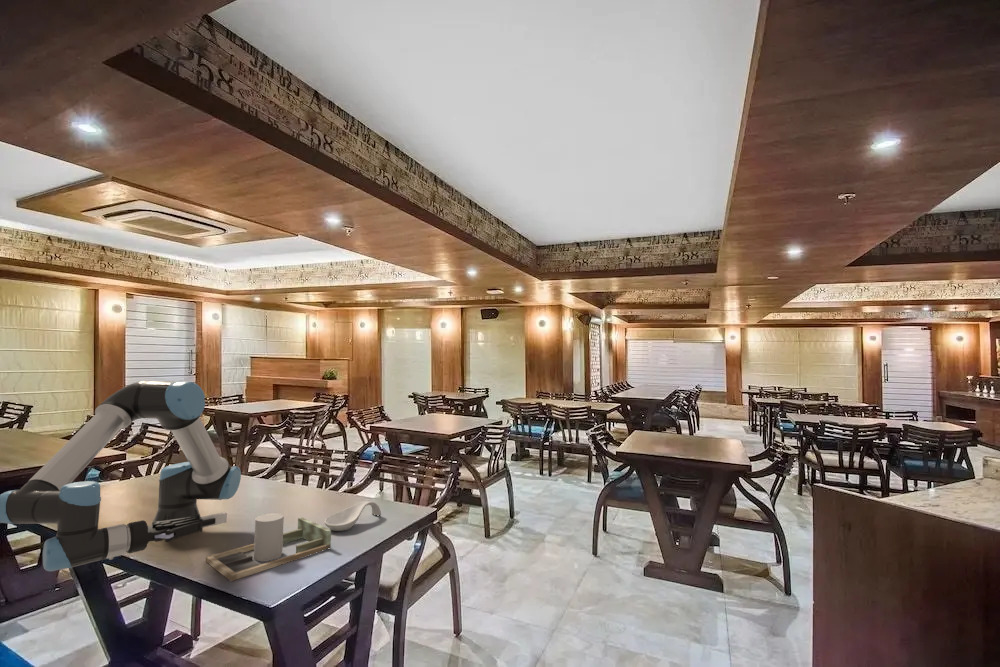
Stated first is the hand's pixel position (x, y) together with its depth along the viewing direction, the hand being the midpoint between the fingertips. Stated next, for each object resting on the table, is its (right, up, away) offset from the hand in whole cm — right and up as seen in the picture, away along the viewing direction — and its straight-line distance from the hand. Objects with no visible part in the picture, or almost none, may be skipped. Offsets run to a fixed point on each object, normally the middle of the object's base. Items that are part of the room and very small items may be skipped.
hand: (225, 517), depth 140 cm
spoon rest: (+26, -18, +40) cm, 51 cm away
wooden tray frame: (+8, -16, +10) cm, 21 cm away
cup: (+8, -16, +10) cm, 20 cm away
